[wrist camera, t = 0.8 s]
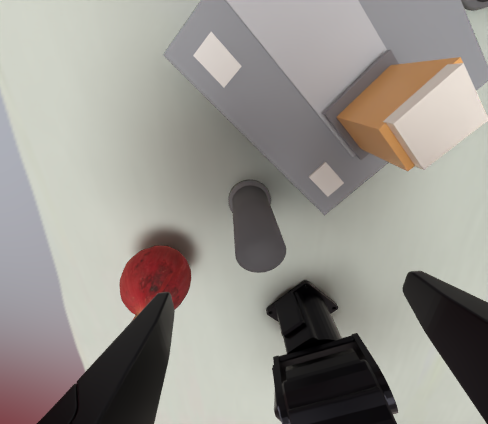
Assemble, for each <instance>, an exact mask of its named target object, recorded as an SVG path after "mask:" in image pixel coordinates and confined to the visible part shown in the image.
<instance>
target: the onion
mask: <svg viewBox="0 0 488 424" xmlns="http://www.w3.org/2000/svg"><path fill="white" fill-rule="evenodd" d="M190 282H191V270H190V267H189V265H188V262H187V260H186V258H185V257H184V256H183V255H182V254H181V253H180V252H179V251H178V250H176V249H174V248H171V247H169V246H153V247H150V248H147V249H144V250H141V251H140V252H138V253H137V254H136V255H135V256H133V257H132V258H131V259H130V260H129V261H128V262H127V264H126V266H125V268H124V270H123V273H122V276H121V278H120V295H121V299H122V301H123V303H124V304H125V306H126V307H127V308H128V309H129V310H130V311H131V312H132V313H133V314H135V317H136V316H137V315H138V314H139V313H140V312H141V311H142V310H143V309H144V308H145V307H146V306H147V304H148V303H149V302H150V301H151V300H152V299H153V298H154V297H155V296H156V295H157V294H158V293H162V292H169V293H170V294H171V297H172V301H173V305H174V310H175V309H176V308H177V307H178V306H179V305H180V304H181V303H182V301H183V300H184V298H185V296H186V295H187V293H188V291H189V287H190ZM135 317H134V319H135ZM134 319H133V320H134Z"/></svg>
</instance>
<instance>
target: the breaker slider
mask: <svg viewBox="0 0 488 424" xmlns="http://www.w3.org/2000/svg"><path fill="white" fill-rule="evenodd" d="M323 114H324V115H325V117H326V118H327V119H328V120H329V122H330V123H331V124H332V125H333V127H334V128H335V129H336V131H337V132H338V133H339V134H340V136H341V137H342V138H343V139H344V141H345V142H346V143H347V144H348V146H349V147H350V148H351V149H352V151H353V152H354V153H355V154H356V156H357V157H358V158H359V159H361V160H362V159H363V158H364V157H366V156H367V155H368V154H369V153H370V154H372V155H375V156H377V157H379V158H381V159H383V160H385V161H387V162H389V163H391V164H394V165H396V166H398V167H400V168H402V169H404V170H406V171H409V170H410V169H411V168H413V167H414V166H416V167H418V168H420V169H423V170H425V169H426V168H427V167H429V166H430V165H431V164H432V163H434V162H435V161H436V160H438V159H439V158H440V157H442V156H443V155H444V154H445V153H447V152H448V151H449V150H451V149H452V148H453V147H454V146H456V145H457V144H458V143H460V142H461V141H462V140H464V139H465V138H466V137H467V136H469V135H470V134H471V133H473V132H474V131H475V130H476V129H478V128H479V127H480V126H482V125H483V124H484V123H486V122H487V121H488V116H487V114H486V112H485V109H484V107H483V105H482V103H481V101H480V98H479V96H478V94H477V92H476V89H475V87H474V85H473V83H472V81H471V78H470V76H469V74H468V72H467V70H466V67H465V65H464V63H463V61H462V59H461V57H457V58H448V59H440V60H431V61H422V62H414V63H405V64H399V63H398V61H397V60H396V58H395V56H394V54H393V53H392V51H391V50H386V51H385V52H384V53H383V54H382V55H381V56H380V57H379V58H378V59H377V60H376V61H375V62H374V63H373V64H372V65H371V66H370V67H369V68H368V69H367V70H366V71H365V72H364V73H363V74H362V75H361V76H360V77H359V78H358V79H357V80H356V81H355V82H354V83H353V84H352V85H351V86H350V87H349V88H348V89H347V90H346V91H345V92H344V93H343V94H342V95H341V96H340V97H339V98H338V99H337V100H336V101H335V102H334V103H333V104H331V105H330V106H329V107H328V108H327V109H326V110H325V111H324V112H323Z"/></svg>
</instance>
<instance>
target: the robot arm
mask: <svg viewBox="0 0 488 424" xmlns="http://www.w3.org/2000/svg"><path fill="white" fill-rule="evenodd" d="M305 285H306V286H305ZM403 293H404V295H405V297H406V299H407V301H408V302H409V304H410V306H411V308H412V310H413V311H414V313H415V315H416V317H417V319H418V320H419V322H420V324H421V326H422V328H423V329H424V331H425V333H426V334H427V336H428V337H429V339H430V340H431V342H432V343H433V345H434V346H435V348H436V349H437V351H438V352H439V354H440V355H441V357H442V358H443V360H444V361H445V363H446V364H447V365H448V367H449V368H450V370H451V371H452V373H453V374H454V376H455V377H456V379H457V380H458V382H459V383H460V385H461V386H462V388H463V389H464V391H465V392H466V394H467V395H468V396H469V398H470V399H471V401H472V402H473V404H474V405H475V407H476V408H477V410H478V411H479V413H480V414H481V416H482V417H483V419H484V420H485V422H486V423H487V424H488V302H486V301H483V300H481V299H479V298H477V297H475V296H473V295H471V294H469V293H467V292H464V291H462V290H460V289H458V288H456V287H454V286H452V285H450V284H448V283H445V282H443V281H441V280H439V279H437V278H435V277H433V276H431V275H429V274H427V273H424V272H422V271H411V272H409V273H408V274H407V276H406V279H405V282H404V285H403ZM337 309H338V306H337V304H336V303H335V302H334V301H332V300H331V299H330V298H329V297H327V296H326V295H325V294H323V293H322V292H321V291H320V290H318V289H317V288H316V287H314V286H313V285H312V284H311V283H309V282H308V281H304V282H302V283H301V284H299V285H298V286H296V287H295V288H294V289H292V290H291V291H290V292H288V293H287V294H286V295H284V296H283V297H282V298H280V299H279V300H278V301H276V302H275V303H274V304H272V305H271V306H270V307H268V308H267V309H266V312H267V315H269V316H270V317H272V318H273V319H275V320H277V321H278V322H279V325H280V329H281V333H282V336H283V338H284V343H285V347H286V351H287V354H286V355H282V356H275V357H273V359H274V365H273V368H272V370H273V376H274V385H275V402H274V411H275V416H276V418H278V419H279V420H280V421H281V422H282V424H397V423H396V421H395V418H394V416H393V414H396V413H398V408H397V405H396V402H395V400H394V397H393V395H392V392H391V390H390V388H389V386H388V384H387V382H386V380H385V378H384V376H383V374H382V372H381V370H380V369H379V367H378V365H377V364H376V362H375V360H374V359H373V357H372V356H371V354H370V353H369V351H368V349H367V348H366V346H365V345H364V343H363V342H362V340H361V338H360V337H359V335H358V334H357V333H355V334H352V336H349V337H345V338H341V336H340V333H339V331H338V329H337V327H336V325H335V323H334V320H333V318H332V316H331V313H333V312H334V311H336V310H337ZM173 321H174V305H173V301H172V297H171V294H170V293H169V292H162V293H158V294H157V295H156V296H155V297H154V298H153V299H152V300H151V301H150V302H149V303H148V304H147V306H146V307H145V308H144V309H143V310H142V311H141V312H140V313H139V314H138V315H137V316H136V317H135V319H134V320H133V321H132V322H131V323H130V324H129V325H128V326H127V327H126V328H125V329H124V331H123V332H122V333H121V334H120V335H119V336H118V337H117V338H116V339H115V340H114V341H113V343H112V344H111V345H110V346H109V347H108V348H107V349H106V350H105V351H104V352H103V353H102V355H101V356H100V357H99V358H98V359H97V360H96V361H95V362H94V363H93V364H92V365H91V366H90V368H89V369H88V370H87V371H86V372H85V373H84V374H83V375H82V376H81V377H80V378H79V380H78V381H77V384H74V385H73V386H72V387H71V388H70V389H69V390H68V391H67V392H66V394H65V395H64V396H63V397H62V398H61V399H60V400H59V401H58V402H57V403H56V404H55V405H54V406H53V407H52V408H51V410H50V411H49V412H48V413H47V414H46V415H45V416H44V417H43V418H42V419H41V420H40V421H39V422H38V423H37V424H154V421H155V417H156V413H157V408H158V404H159V400H160V395H161V391H162V386H163V382H164V378H165V373H166V369H167V365H168V360H169V354H170V346H171V338H172V330H173Z"/></svg>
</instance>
